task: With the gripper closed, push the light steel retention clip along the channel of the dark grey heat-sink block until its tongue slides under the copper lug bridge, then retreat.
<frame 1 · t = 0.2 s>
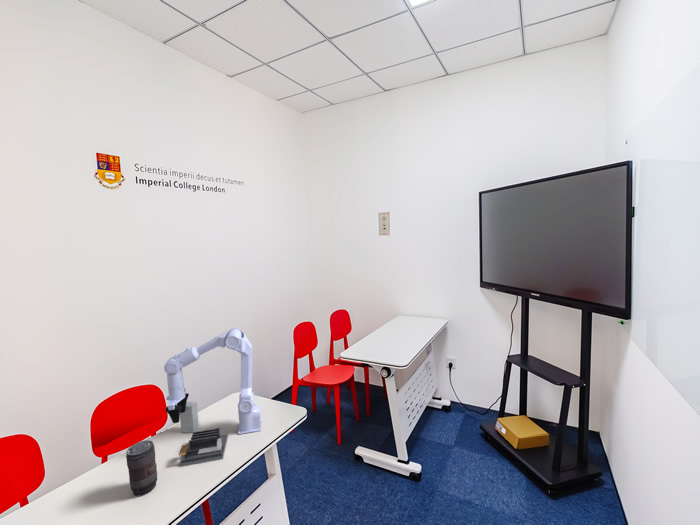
hand: (179, 417, 137), 10 cm above the table, fingers open, 7 cm apart
camera lens: (144, 488, 112), on the table
clip: (209, 447, 127), point 4 cm above the table, slide at 0.0 cm
heatsink: (205, 450, 130), on the table
skincare box: (190, 430, 145), on the table
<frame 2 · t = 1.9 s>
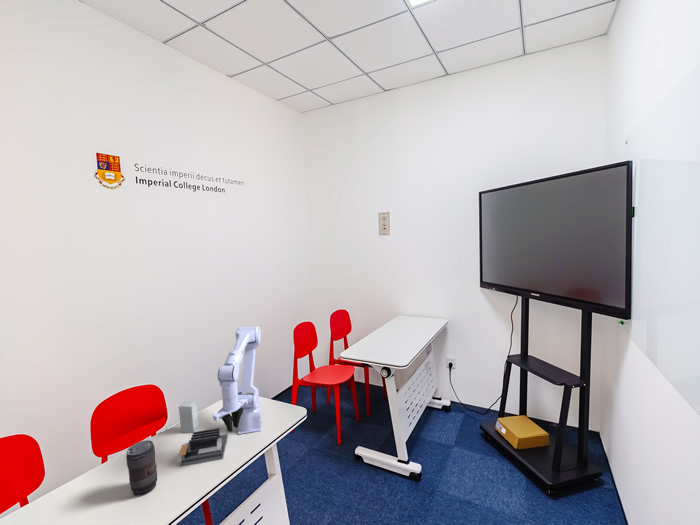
hand: (233, 429, 128), 9 cm above the table, fingers closed
nothing on the table moved.
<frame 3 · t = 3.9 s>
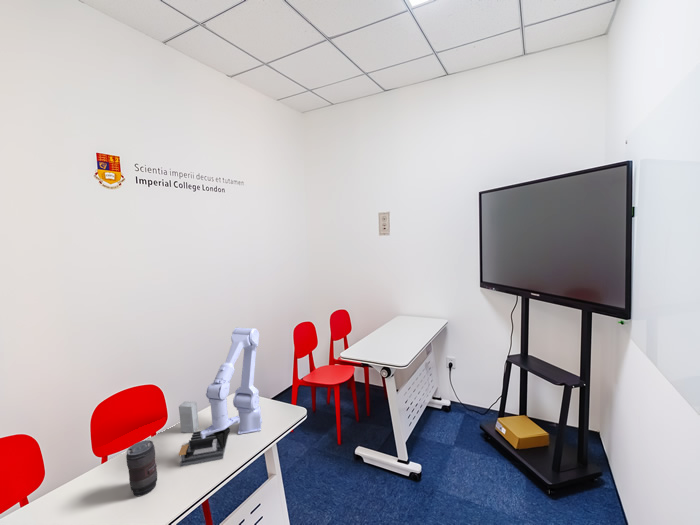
hand: (222, 446, 128), 3 cm above the table, fingers closed
clip: (205, 448, 126), point 4 cm above the table, slide at 1.6 cm, touching gripper
everything else where it was.
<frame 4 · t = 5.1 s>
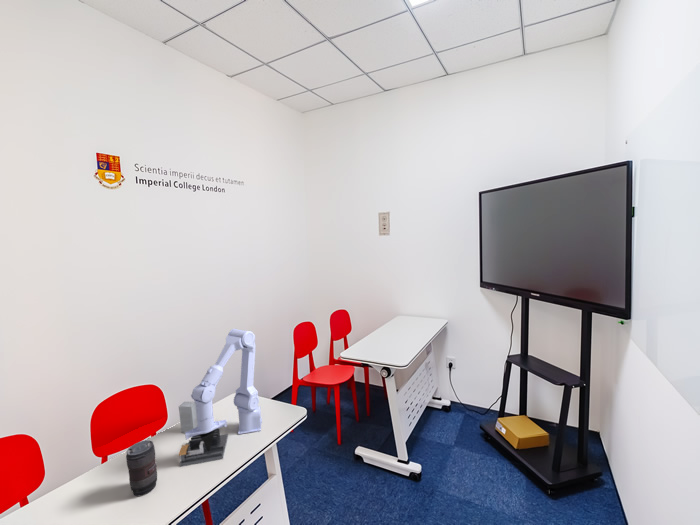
hand: (208, 449, 127), 3 cm above the table, fingers closed
clip: (192, 450, 125), point 4 cm above the table, slide at 6.2 cm, touching gripper
everything else where it was.
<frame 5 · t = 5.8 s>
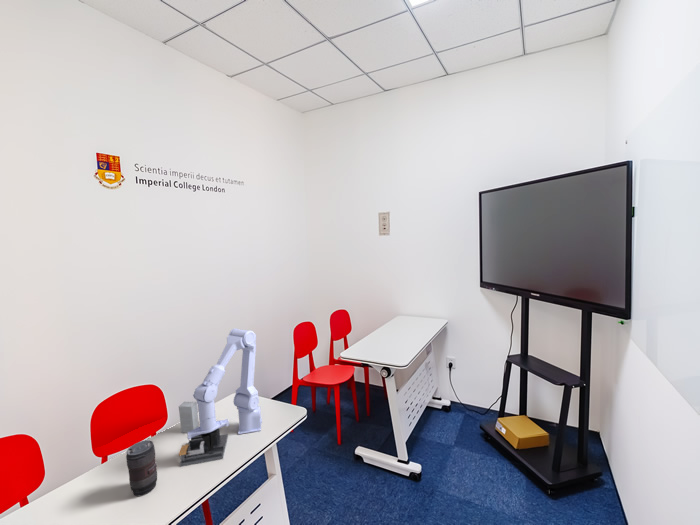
hand: (210, 449, 127), 3 cm above the table, fingers closed
clip: (192, 450, 125), point 4 cm above the table, slide at 6.0 cm
everything else where it was.
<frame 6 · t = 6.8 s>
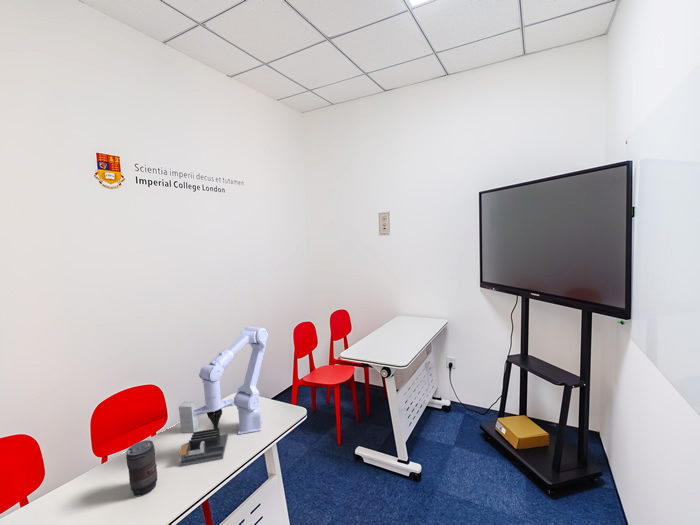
hand: (215, 427, 129), 9 cm above the table, fingers closed
nothing on the table moved.
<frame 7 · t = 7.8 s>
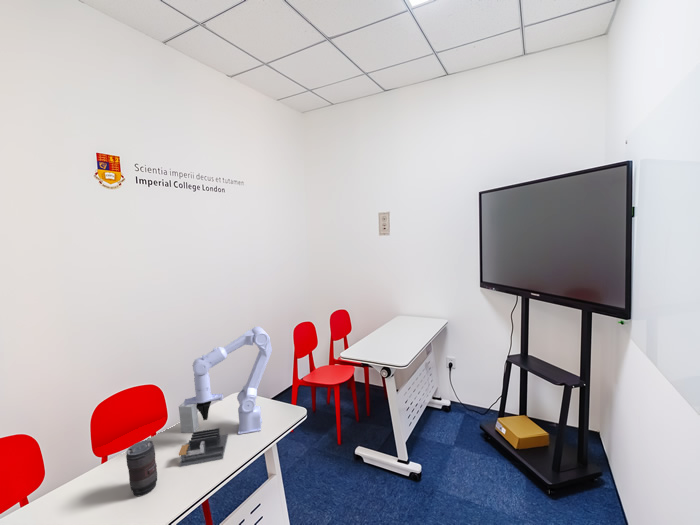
hand: (205, 418, 136), 9 cm above the table, fingers closed
nothing on the table moved.
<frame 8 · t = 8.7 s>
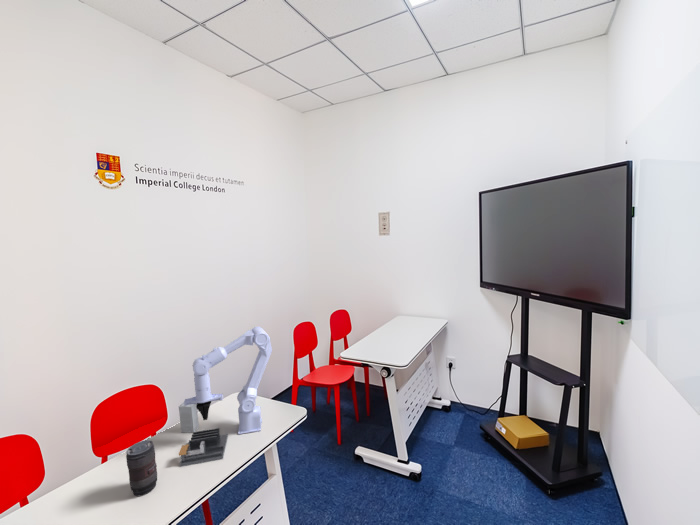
hand: (205, 418, 136), 9 cm above the table, fingers closed
nothing on the table moved.
at the end: clip slide at 6.0 cm; the gripper is holding nothing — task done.
